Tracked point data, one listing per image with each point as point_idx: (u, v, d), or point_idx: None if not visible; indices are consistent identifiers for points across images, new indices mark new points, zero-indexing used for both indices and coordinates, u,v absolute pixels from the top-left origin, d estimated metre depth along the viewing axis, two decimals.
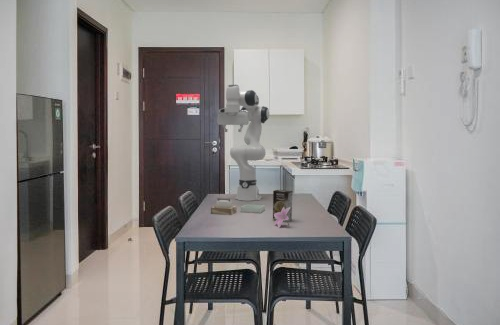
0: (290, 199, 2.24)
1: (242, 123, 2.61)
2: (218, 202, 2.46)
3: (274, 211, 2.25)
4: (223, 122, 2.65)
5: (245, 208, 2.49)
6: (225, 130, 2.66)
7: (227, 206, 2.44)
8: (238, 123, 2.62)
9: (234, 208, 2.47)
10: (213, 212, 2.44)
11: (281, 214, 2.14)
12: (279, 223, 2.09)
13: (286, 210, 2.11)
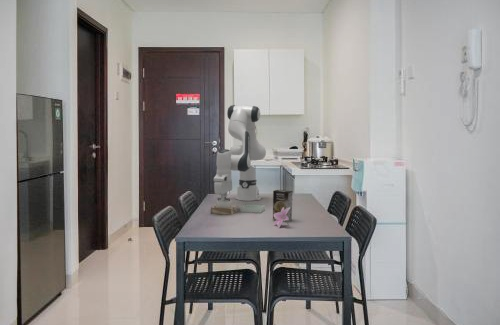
0: (290, 199, 2.24)
1: (230, 189, 2.53)
2: (218, 202, 2.46)
3: (274, 211, 2.25)
4: (223, 191, 2.41)
5: (245, 208, 2.49)
6: (224, 198, 2.46)
7: (227, 206, 2.44)
8: (229, 190, 2.50)
9: (234, 208, 2.47)
10: (213, 212, 2.44)
11: (281, 214, 2.14)
12: (279, 223, 2.09)
13: (286, 210, 2.11)
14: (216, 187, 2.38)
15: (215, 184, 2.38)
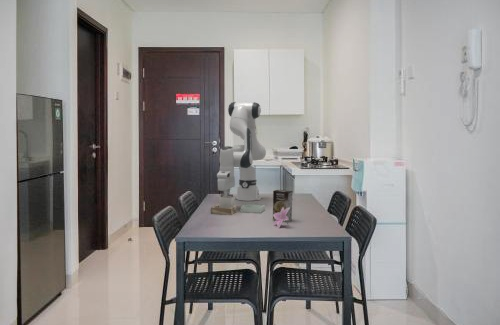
0: (290, 199, 2.24)
1: (233, 186, 2.58)
2: (221, 198, 2.51)
3: (274, 211, 2.25)
4: (226, 187, 2.46)
5: (245, 208, 2.49)
6: (227, 194, 2.51)
7: (230, 202, 2.49)
8: (231, 186, 2.55)
9: (234, 208, 2.47)
10: (213, 212, 2.44)
11: (280, 214, 2.14)
12: (279, 223, 2.09)
13: (286, 210, 2.11)
14: (219, 183, 2.42)
15: (218, 180, 2.43)
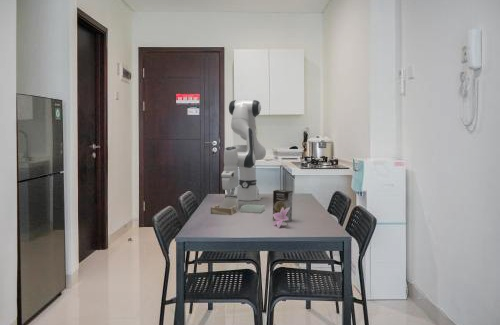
0: (290, 199, 2.24)
1: (237, 185, 2.64)
2: (225, 199, 2.57)
3: (274, 211, 2.25)
4: (230, 186, 2.52)
5: (245, 208, 2.49)
6: (230, 194, 2.56)
7: (234, 203, 2.56)
8: (235, 186, 2.62)
9: (234, 208, 2.47)
10: (213, 212, 2.44)
11: (280, 214, 2.13)
12: (278, 223, 2.09)
13: (285, 210, 2.10)
14: (224, 183, 2.49)
15: (223, 180, 2.49)
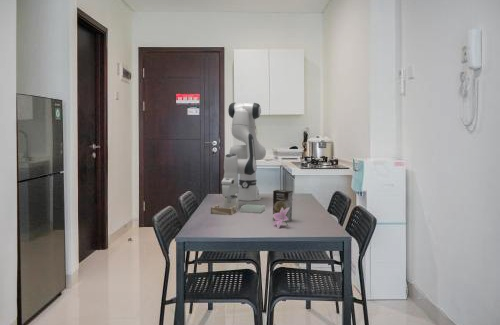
0: (290, 199, 2.24)
1: (237, 192, 2.65)
2: (225, 199, 2.57)
3: (274, 211, 2.25)
4: (230, 193, 2.52)
5: (245, 208, 2.49)
6: (230, 201, 2.56)
7: (234, 203, 2.56)
8: (235, 192, 2.62)
9: (234, 208, 2.47)
10: (213, 212, 2.44)
11: (280, 214, 2.13)
12: (278, 224, 2.08)
13: (285, 210, 2.10)
14: (224, 190, 2.49)
15: (223, 187, 2.50)
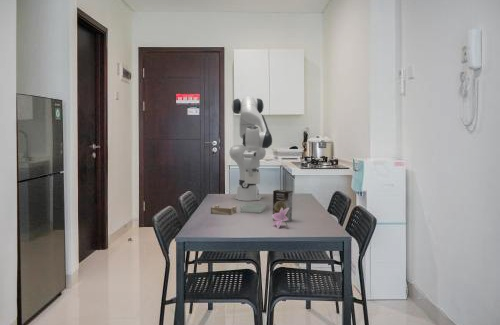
0: (290, 199, 2.24)
1: (258, 166, 2.57)
2: (247, 172, 2.50)
3: (274, 211, 2.25)
4: (252, 166, 2.45)
5: (245, 208, 2.49)
6: (252, 175, 2.48)
7: (256, 176, 2.48)
8: (257, 166, 2.55)
9: (234, 208, 2.47)
10: (213, 212, 2.44)
11: (279, 215, 2.13)
12: (278, 224, 2.08)
13: (285, 211, 2.10)
14: (246, 162, 2.42)
15: (245, 159, 2.42)
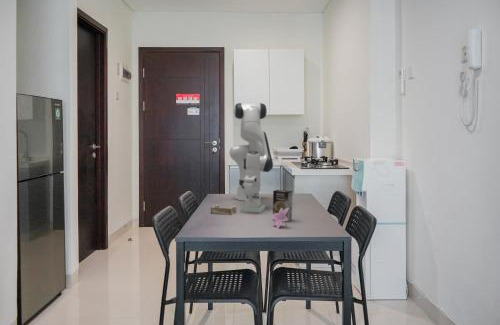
0: (290, 199, 2.24)
1: (258, 190, 2.58)
2: (247, 200, 2.51)
3: (274, 211, 2.25)
4: (253, 192, 2.46)
5: (245, 208, 2.49)
6: None
7: (256, 203, 2.49)
8: (257, 191, 2.56)
9: (234, 208, 2.47)
10: (213, 212, 2.44)
11: (279, 215, 2.12)
12: (278, 224, 2.07)
13: (284, 211, 2.09)
14: (246, 188, 2.43)
15: (245, 185, 2.43)
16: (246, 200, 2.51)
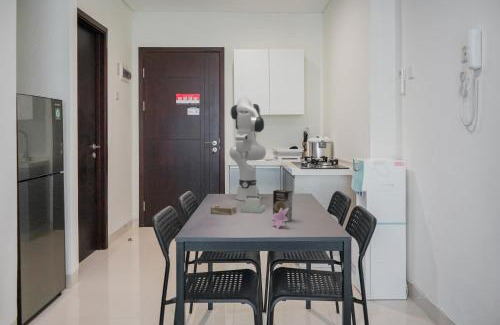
0: (290, 199, 2.24)
1: (250, 149, 2.69)
2: (247, 200, 2.51)
3: (274, 211, 2.25)
4: (244, 149, 2.56)
5: (245, 208, 2.49)
6: (243, 157, 2.58)
7: (256, 203, 2.49)
8: (248, 150, 2.66)
9: (234, 208, 2.47)
10: (213, 212, 2.44)
11: (279, 215, 2.12)
12: (277, 224, 2.07)
13: (284, 211, 2.09)
14: (238, 145, 2.53)
15: (237, 142, 2.54)
16: (246, 200, 2.51)
